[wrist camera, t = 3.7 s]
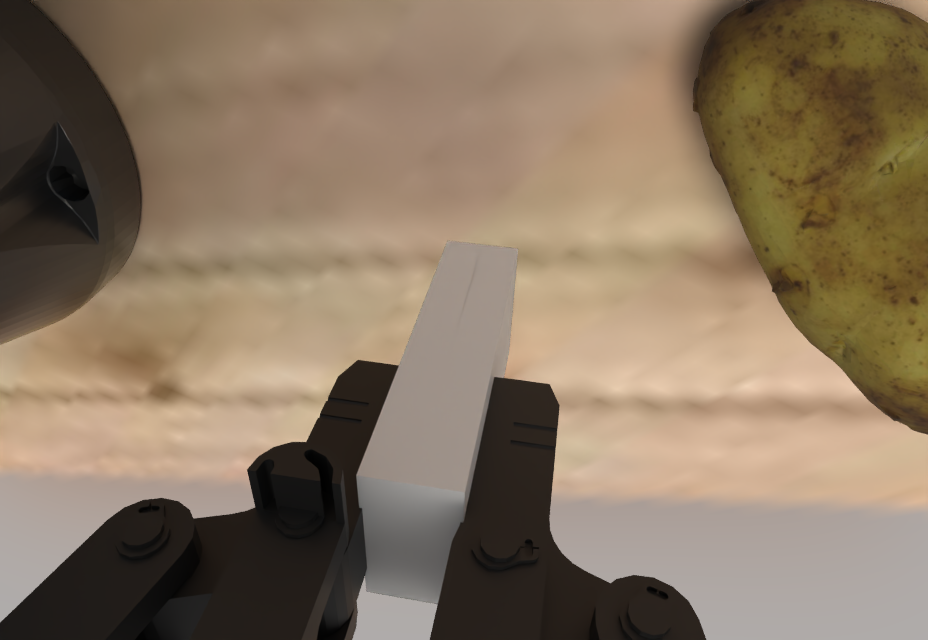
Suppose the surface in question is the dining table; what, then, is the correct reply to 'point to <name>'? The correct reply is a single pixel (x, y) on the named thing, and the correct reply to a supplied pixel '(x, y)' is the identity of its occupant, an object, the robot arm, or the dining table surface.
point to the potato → (832, 177)
